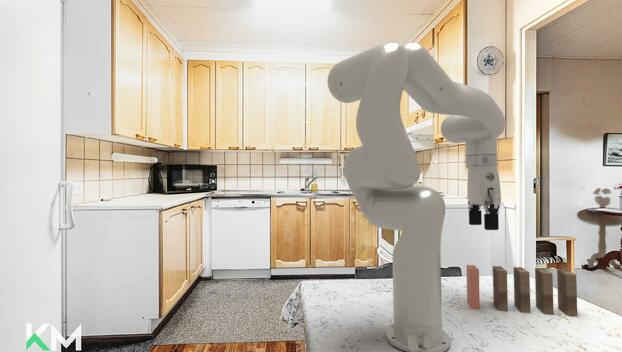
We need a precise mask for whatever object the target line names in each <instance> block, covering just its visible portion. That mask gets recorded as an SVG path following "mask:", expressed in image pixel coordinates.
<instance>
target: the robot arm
mask: <svg viewBox="0 0 622 352" xmlns="http://www.w3.org/2000/svg"><path fill="white" fill-rule="evenodd" d="M327 87H328V90H329V92H330V95H332V97H333V98H334V99H335V100H337V101H338V102H340V103H344V104H351V103H355V102H357V101H359V106H358V108H357V110H356V111H357V112H356V118H355V130H356V133H357V135H358V138H359V140H360V143H361V146H357V147H354V148H353V149H351V150H350V152H349V153H348V154H347V155H346V158H345V160H344V177H345V181H346V183H347V185H348V187H349V189H350V191H351V193H352V195H353V198H354V199H355V201H356V203H357V204H358V207H359V209H360V210H361V212H362V214H363V216H364V218H365V219H366V220H367V221H368V223H369V224H370V225H371V226H373V227H376V228H378V229H379V228H380V229H384V230H392V231H399V232H401V234H400V236H399V238H398V240H397V241H396V242H395V244H394V247H393V250H392V299H393V300H392V302H393V303H392V305H393V306H392V308H393V315H392V316H393V318H392V319H393V323H392V324H391V325H389V326H388V327H387V328H386V330H385V337H386V340H387V341H388V343H390V344H391V345H392V346H393V347H395V348H396V349H398V350H402V351H404V352H446V351H447V350H449V349H450V347H451V337H450V335H449V334H448V333H447V332H446V331H445V330H443V323H442V321H443V317H442V316H443V315H442V312H443V311H442V270H441V268H442V265H441V264H442V261H441V257H442V256H441V253H442V252H441V250H442V249H441V248H442V247H441V246H442V233H443V227H444V222H445V218H446V217H445V216H446V203H445V200H444V197H443V195H441V193H439V192H438V191H437V190H436V189H433V188H432V187H431V188H430V187H427V186H421V185H420V186H418V185H416V184H417V183H418V181H419V180H420V177H421V167H420V166H421V165H420V162H419V159H418V157H417V154H416V152H415V149H414V146H413V145H412V142H411V140H410V137H409V135H408V132H407V130H406V128H405V124H404V123H403V119H402V114H401V100H402V96H403V95H402V94H403V91H404V92H405V93H406V94H407V95H408V96H409V97H410V98H412V100H413V101H415V103H416V104H417V105H418V106H419V107H420V108H421V109H422V110H423V111H425V112H428V113H432V114H437V115H445V116H446V115H447V117H445V118H444V119H443V121H441V125H440V133H441V135H442V137H443V138H444V139H445V141H448V142H449V143H452V144H462V143H464V145H465V147H464V149H465V150H464V151H465V169H468V170H467V186H466V187H467V188H466V190H467V193H466V194H467V196H466V197H467V204H468V207H467V209H468V224H469V225H470V226H481V225H482V216H483V218H484V219H483V222H484V223H483V224H484V225H483V227H484V230H485V231H499V228H500V226H499V224H500V223H499V222H500V221H499V214H500V210H499V209H500V207H501V206H500V205H502V204H501V203H502V193H501V181H500V174H499V170H498V166H499V165H498V141H497V140H498V139H497V138H499V137H501V135H502V134H503V133H504V131H505V128H506V120H505V116H504V114H503V111H502V109H501V108H500V106H499V105H498V103H496V101H495V99H494V98H493V97H492V96H491V95H489V94H488V93H487V92H486V91H483V90H480V89H478V88H476V87H473V86H469V85H466V84H464V83H459V82H456V81H454V80H452V79H451V78H450V76H449V74H447V73H446V72H445V70H444V69H443V68H442V67H441V66H440V64H439V63H438V61H436V59H435V58H434V57H433V56H432V54H431V53H430V52H429V51H428V50H427V48H426V47H424V46H423V45H421V44H419V43H416V42H410V43H409V42H408V43H405V44H402V45H401V44H399V43H394V42H388V43H383V44H379V45H376V46H374V47H370V48H368V49H366V50H364V51H361V52H359V53H357V54H355V55H353V56H350V57H348V58H346V59H343V60H341V61H338V62H337V63H336V64H334V65H333V66H332V67H331V69H330V71H329V72H328V76H327ZM482 207H483V210H484V212H485V213H483V215H482V209H481V208H482Z"/></svg>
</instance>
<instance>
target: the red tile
mask: <svg viewBox="0 0 622 352" xmlns="http://www.w3.org/2000/svg"><path fill="white" fill-rule="evenodd" d="M466 302H467V304H468V305H469V308H470V309H472V310H473V309H474V310H481V308H480V303H481V302H480V270H479V268H478V267H477V266H476V265H474V264H466Z"/></svg>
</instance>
